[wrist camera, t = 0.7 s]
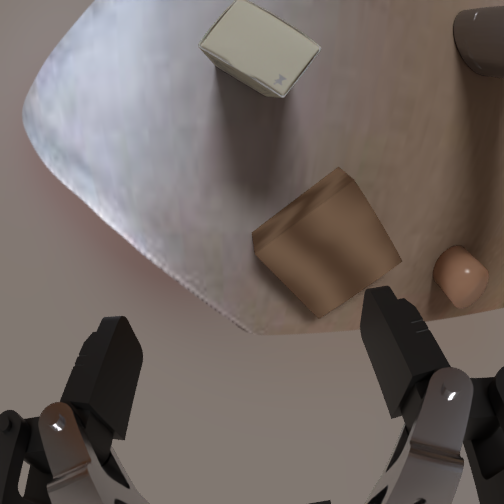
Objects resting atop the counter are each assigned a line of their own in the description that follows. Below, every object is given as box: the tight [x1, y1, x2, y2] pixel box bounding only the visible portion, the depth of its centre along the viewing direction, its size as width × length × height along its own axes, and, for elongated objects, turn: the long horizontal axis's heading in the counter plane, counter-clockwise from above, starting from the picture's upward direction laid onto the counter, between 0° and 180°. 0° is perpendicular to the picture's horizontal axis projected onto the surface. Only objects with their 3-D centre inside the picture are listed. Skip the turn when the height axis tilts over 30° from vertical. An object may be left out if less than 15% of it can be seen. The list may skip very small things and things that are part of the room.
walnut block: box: [252, 167, 402, 319], centre depth 33 cm, size 12×12×5 cm
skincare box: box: [198, 0, 321, 98], centre depth 20 cm, size 6×4×12 cm
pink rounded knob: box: [433, 245, 489, 308], centre depth 36 cm, size 7×7×6 cm
